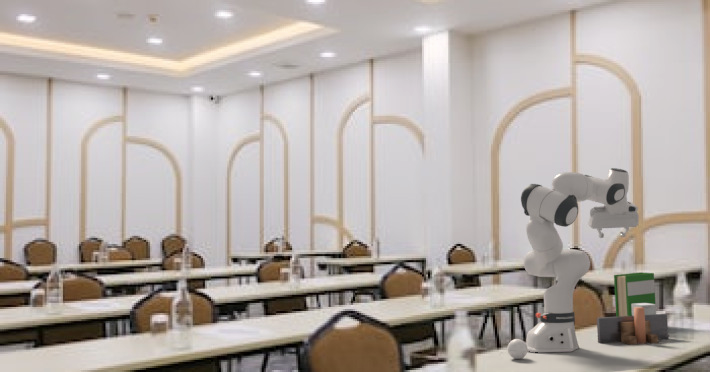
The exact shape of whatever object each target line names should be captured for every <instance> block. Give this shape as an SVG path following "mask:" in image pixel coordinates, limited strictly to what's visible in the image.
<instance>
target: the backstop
mask: <svg viewBox="0 0 710 372" xmlns="http://www.w3.org/2000/svg"><path fill="white" fill-rule="evenodd" d="M647 320H648V321H650V326H651V334H655V335H658V340H668V339H669V326H668V314H667V313H656V314H650V315H645V321H647ZM631 321H634V316H617V317H616V316H603V317H602V316H601V317H596V329H597V330H596V331H597V343H599V344H606V343H607V344H608V343H610V344H611V343H622V342H621V325H620V322H631Z"/></svg>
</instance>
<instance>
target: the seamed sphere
mask: <svg viewBox="0 0 710 372" xmlns="http://www.w3.org/2000/svg"><path fill="white" fill-rule="evenodd" d="M502 350H504V351H505V350H506V348H503V349H502ZM528 352H529V351H528V348H527V345H526V341H524V340H522V339H521V338H520V339H519V338H514V339H512V340H510V342H509V343H508V345H507V353H508V355H509V356H510V357H511V358H512V359H514V360H521V359H523V358H525V357H526V356H527V354H528Z"/></svg>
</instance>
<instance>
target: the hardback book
mask: <svg viewBox="0 0 710 372" xmlns="http://www.w3.org/2000/svg"><path fill="white" fill-rule="evenodd" d="M613 280H614V281H613V282H614V302H615V317H617V316H632V307H631V304H636V303H650V304H656V291H655V289H656V288H655V274H654V273H653V272H643V271H642V272H640V271H639V272H632V273H631V272H629V273H623V274H622V273H621V274H613ZM656 305H657V304H656Z"/></svg>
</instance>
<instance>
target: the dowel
mask: <svg viewBox="0 0 710 372" xmlns="http://www.w3.org/2000/svg"><path fill="white" fill-rule="evenodd" d="M634 323H635V336H636V338H637V344H647V342H646V330H645V312H644V307H634Z"/></svg>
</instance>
